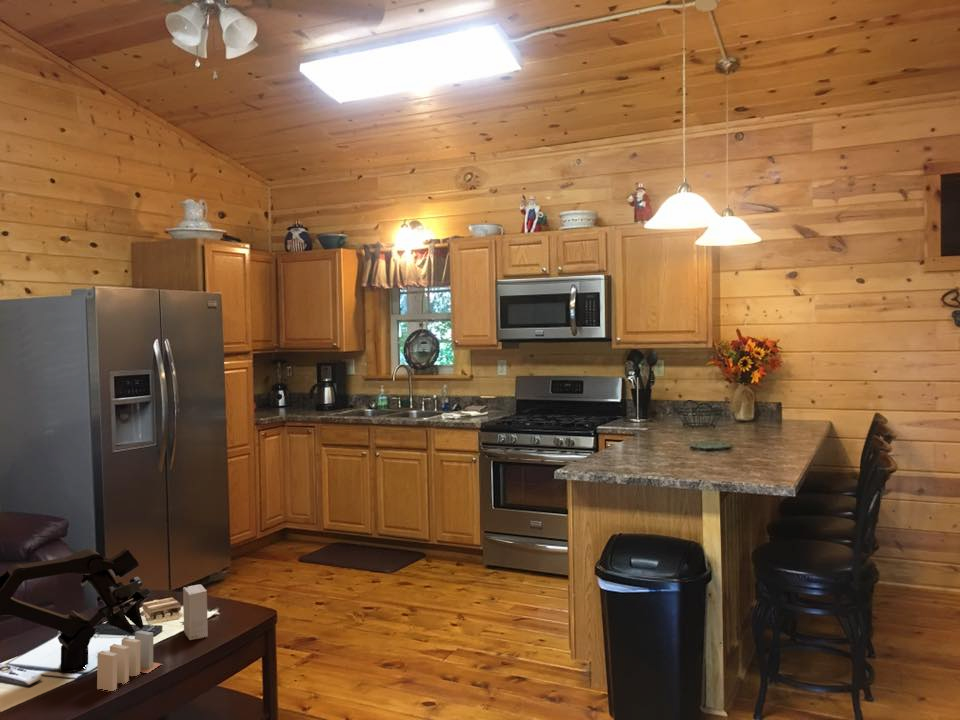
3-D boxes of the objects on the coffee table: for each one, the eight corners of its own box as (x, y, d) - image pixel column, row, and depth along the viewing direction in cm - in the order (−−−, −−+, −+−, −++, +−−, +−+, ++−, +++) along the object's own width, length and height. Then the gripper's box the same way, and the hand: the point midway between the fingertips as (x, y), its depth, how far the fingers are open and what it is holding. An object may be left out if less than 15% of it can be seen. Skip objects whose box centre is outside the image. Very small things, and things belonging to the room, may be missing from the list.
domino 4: (149, 669, 217) (149, 634, 216) (134, 666, 218) (134, 632, 217) (153, 666, 218) (153, 632, 218) (138, 663, 220) (138, 630, 219)
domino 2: (124, 684, 208) (125, 649, 208) (109, 681, 210) (109, 646, 209) (128, 681, 210) (129, 646, 209) (113, 678, 211) (114, 643, 210)
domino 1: (112, 692, 204) (112, 656, 203) (97, 689, 205) (97, 653, 205) (116, 689, 205) (117, 653, 205) (101, 686, 207) (101, 650, 206)
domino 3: (136, 677, 213) (136, 642, 212) (121, 674, 214) (121, 639, 213) (140, 674, 214) (140, 640, 213) (125, 671, 215) (125, 637, 215)
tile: (121, 669, 217) (121, 668, 217) (136, 660, 222) (136, 659, 222) (147, 674, 214) (147, 673, 214) (162, 665, 220) (162, 663, 220)
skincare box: (208, 637, 240) (208, 591, 239) (188, 641, 236) (188, 594, 235) (201, 627, 247) (202, 582, 246) (182, 631, 243) (182, 586, 242)
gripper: (97, 582, 209) (130, 627, 207) (145, 561, 227) (176, 602, 225) (74, 605, 212) (107, 650, 210) (124, 583, 230) (154, 624, 227)
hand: (137, 630), depth 218 cm, fingers open, 3 cm apart
